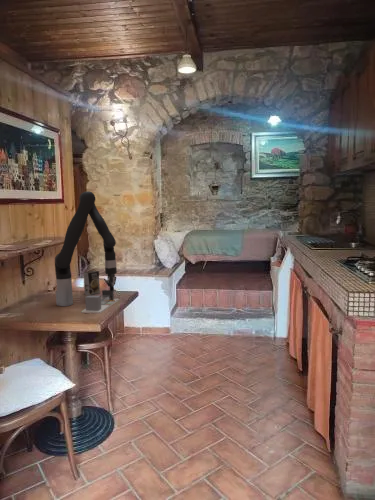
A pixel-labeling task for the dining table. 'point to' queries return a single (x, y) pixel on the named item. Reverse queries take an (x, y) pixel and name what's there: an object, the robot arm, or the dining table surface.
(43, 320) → the dining table surface
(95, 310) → the gauge base
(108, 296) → the tall dark grey box
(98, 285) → the coffee box
